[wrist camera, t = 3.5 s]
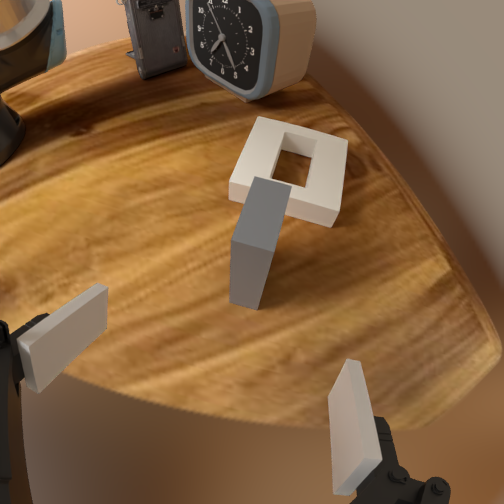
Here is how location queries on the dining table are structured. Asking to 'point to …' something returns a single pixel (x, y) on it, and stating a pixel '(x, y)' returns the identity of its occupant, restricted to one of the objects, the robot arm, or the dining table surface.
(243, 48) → the alarm clock
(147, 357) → the dining table surface
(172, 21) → the camera
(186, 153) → the dining table surface
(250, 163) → the white flat frame block
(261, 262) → the grey rectangular peg
